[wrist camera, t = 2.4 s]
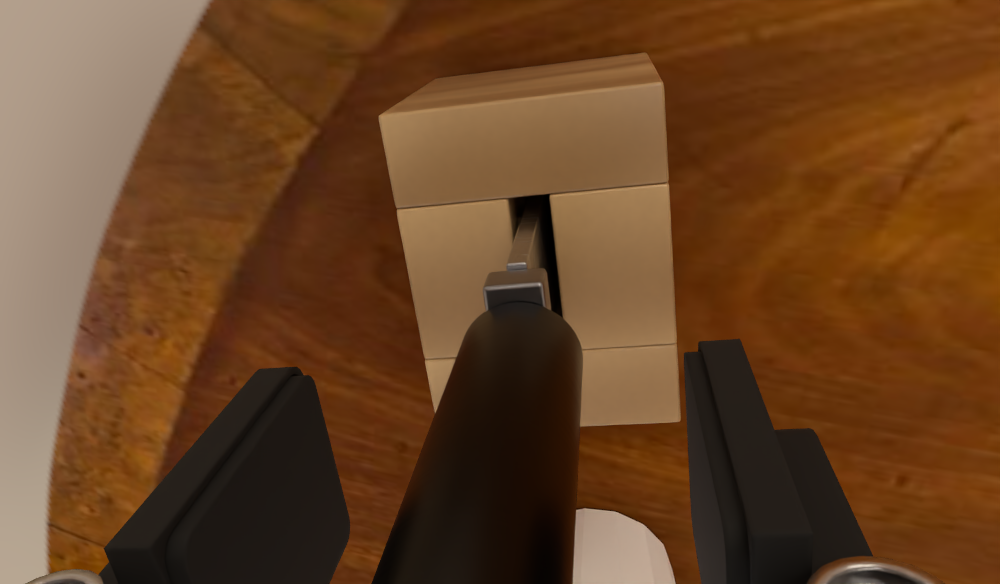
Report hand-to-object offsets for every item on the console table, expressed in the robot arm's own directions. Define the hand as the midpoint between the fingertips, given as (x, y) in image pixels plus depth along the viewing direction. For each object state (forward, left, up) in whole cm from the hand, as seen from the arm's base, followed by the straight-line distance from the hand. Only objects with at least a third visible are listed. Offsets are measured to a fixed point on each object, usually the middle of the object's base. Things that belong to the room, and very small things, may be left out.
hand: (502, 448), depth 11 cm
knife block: (0, 0, -13) cm, 13 cm away
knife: (0, 0, -13) cm, 13 cm away
